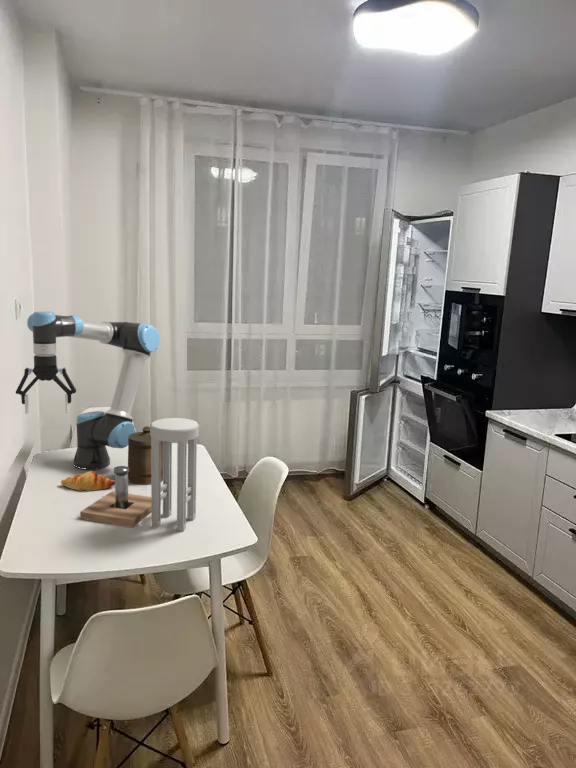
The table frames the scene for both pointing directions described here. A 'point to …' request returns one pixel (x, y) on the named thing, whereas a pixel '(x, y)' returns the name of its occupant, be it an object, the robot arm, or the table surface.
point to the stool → (169, 433)
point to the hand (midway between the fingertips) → (47, 412)
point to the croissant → (88, 481)
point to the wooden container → (141, 457)
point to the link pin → (121, 487)
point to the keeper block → (118, 510)
